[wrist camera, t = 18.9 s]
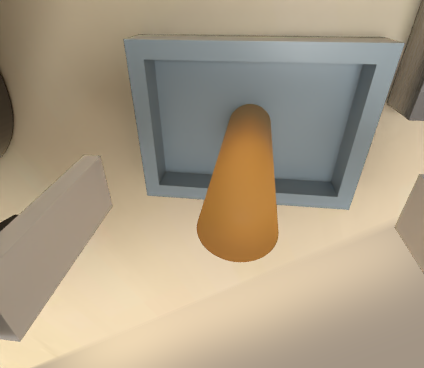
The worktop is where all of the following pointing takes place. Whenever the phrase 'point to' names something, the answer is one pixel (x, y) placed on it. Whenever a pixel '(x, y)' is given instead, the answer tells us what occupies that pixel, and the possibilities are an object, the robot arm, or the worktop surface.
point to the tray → (264, 97)
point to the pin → (242, 191)
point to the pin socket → (411, 75)
